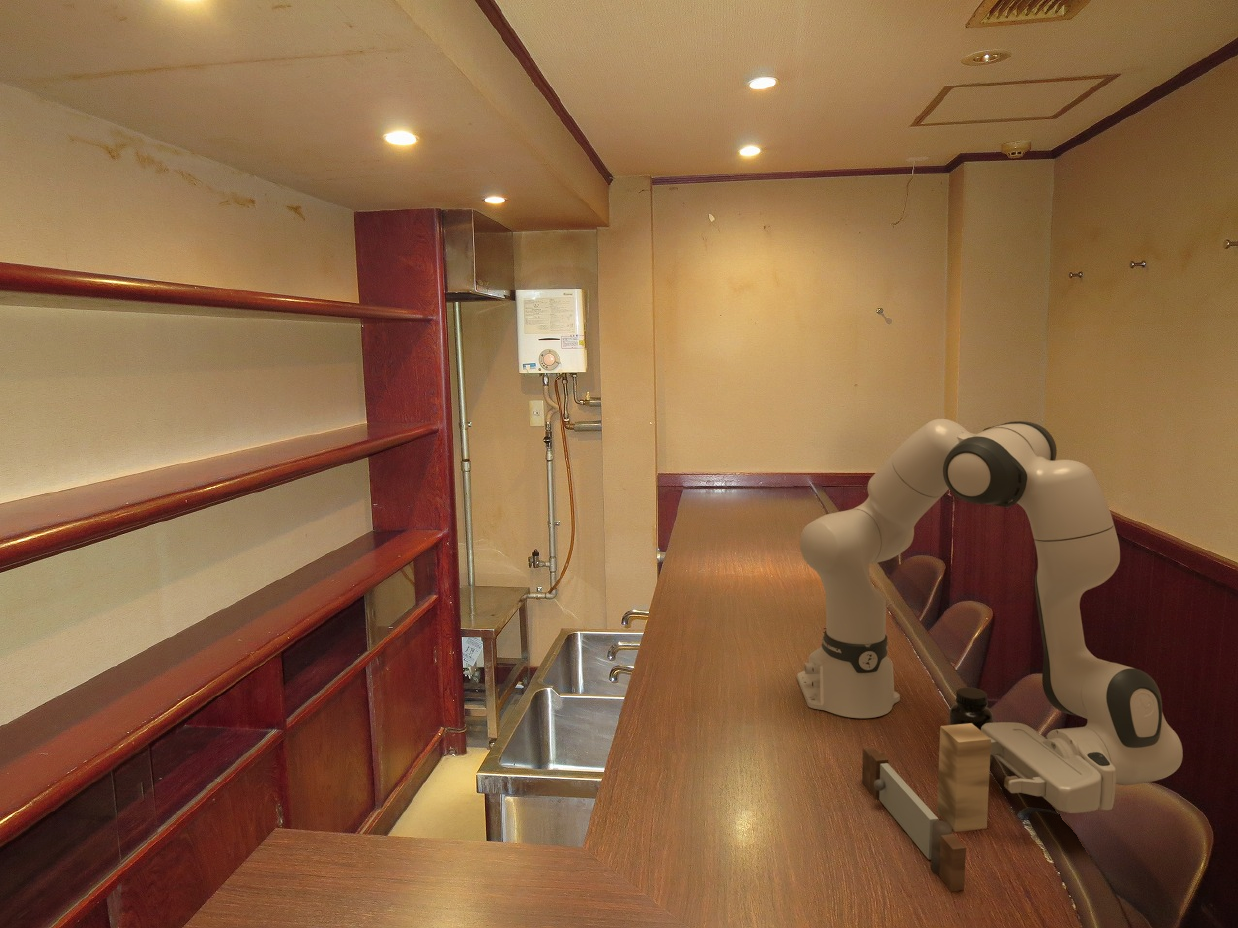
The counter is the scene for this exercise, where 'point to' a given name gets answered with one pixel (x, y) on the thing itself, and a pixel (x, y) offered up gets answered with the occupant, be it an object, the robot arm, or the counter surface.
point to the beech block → (963, 777)
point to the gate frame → (945, 845)
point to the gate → (906, 808)
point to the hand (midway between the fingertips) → (987, 767)
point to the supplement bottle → (971, 708)
